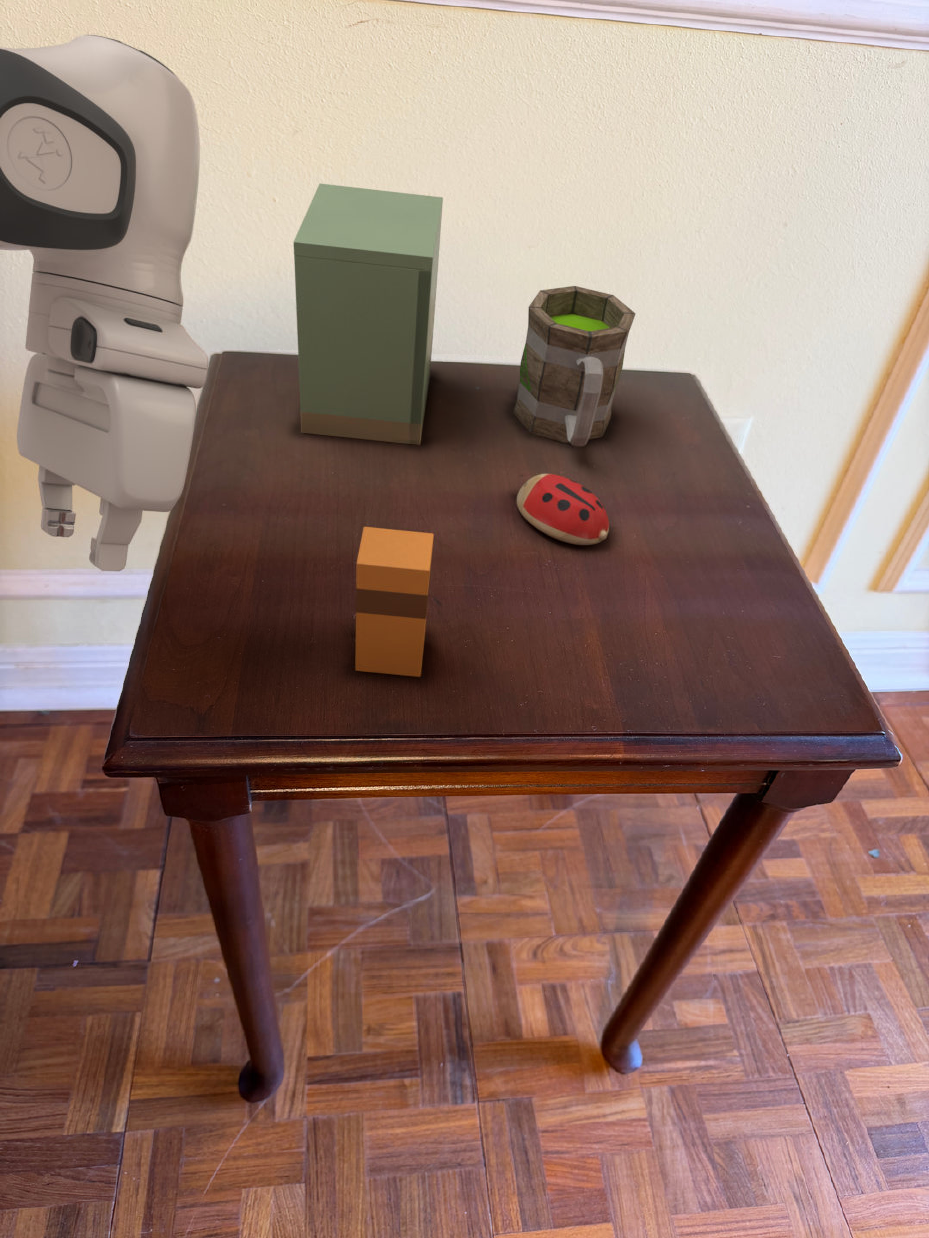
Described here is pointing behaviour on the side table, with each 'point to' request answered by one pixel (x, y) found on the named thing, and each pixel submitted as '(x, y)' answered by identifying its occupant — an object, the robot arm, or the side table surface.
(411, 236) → the cubby
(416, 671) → the granola carton
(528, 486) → the ladybug figurine
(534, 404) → the mug
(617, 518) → the side table surface
